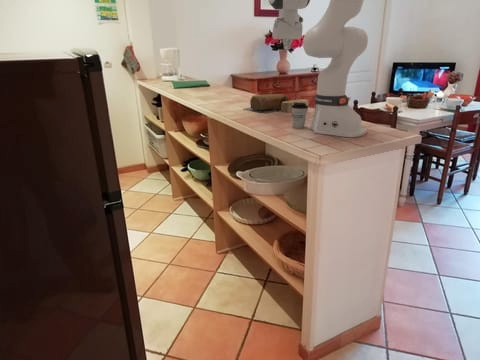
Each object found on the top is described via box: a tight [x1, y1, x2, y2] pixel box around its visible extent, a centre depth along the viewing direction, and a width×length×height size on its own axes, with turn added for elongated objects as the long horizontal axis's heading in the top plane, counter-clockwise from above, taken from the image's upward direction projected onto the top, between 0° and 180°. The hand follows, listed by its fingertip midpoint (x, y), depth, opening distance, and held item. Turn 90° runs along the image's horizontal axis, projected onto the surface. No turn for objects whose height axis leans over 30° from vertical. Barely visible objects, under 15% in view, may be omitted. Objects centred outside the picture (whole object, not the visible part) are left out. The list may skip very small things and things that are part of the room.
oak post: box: [280, 98, 309, 114], centre depth 182 cm, size 5×5×15 cm
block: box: [249, 93, 289, 110], centre depth 182 cm, size 11×8×20 cm
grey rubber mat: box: [242, 106, 281, 114], centre depth 187 cm, size 16×20×1 cm
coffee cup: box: [291, 103, 309, 129], centre depth 145 cm, size 7×7×10 cm
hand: (286, 49), depth 169 cm, fingers closed
